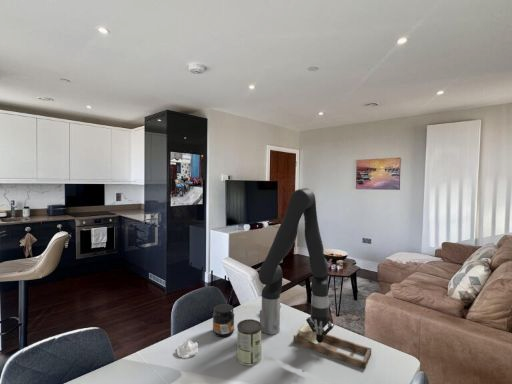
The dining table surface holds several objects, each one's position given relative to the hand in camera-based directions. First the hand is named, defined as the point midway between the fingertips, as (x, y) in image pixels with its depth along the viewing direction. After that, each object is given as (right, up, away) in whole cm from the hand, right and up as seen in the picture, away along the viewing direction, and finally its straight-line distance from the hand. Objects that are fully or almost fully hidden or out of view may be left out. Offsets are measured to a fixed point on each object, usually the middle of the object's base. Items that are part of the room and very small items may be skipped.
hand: (319, 341), depth 124 cm
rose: (-59, -3, -4) cm, 59 cm away
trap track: (+4, -3, -3) cm, 6 cm away
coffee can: (-32, -3, -8) cm, 33 cm away
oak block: (-5, -1, +3) cm, 6 cm away
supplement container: (-45, -2, +12) cm, 46 cm away
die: (-19, -1, +32) cm, 38 cm away
